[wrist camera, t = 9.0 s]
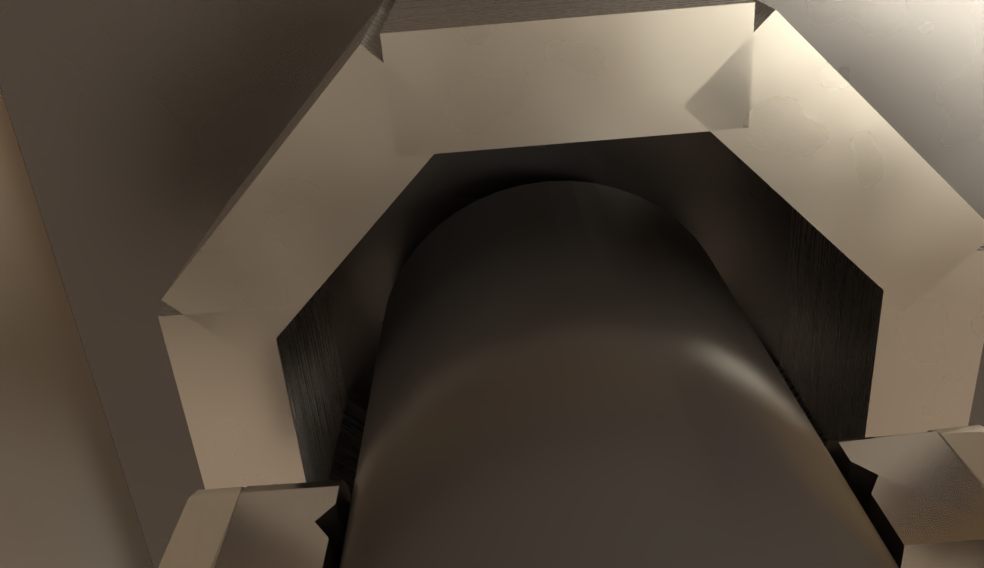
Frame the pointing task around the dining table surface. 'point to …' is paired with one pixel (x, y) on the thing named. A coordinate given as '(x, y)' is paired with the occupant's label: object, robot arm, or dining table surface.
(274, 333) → the octagon ring plate
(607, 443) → the dome-topped dark cylinder
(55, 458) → the dining table surface
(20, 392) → the dining table surface
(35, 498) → the dining table surface
